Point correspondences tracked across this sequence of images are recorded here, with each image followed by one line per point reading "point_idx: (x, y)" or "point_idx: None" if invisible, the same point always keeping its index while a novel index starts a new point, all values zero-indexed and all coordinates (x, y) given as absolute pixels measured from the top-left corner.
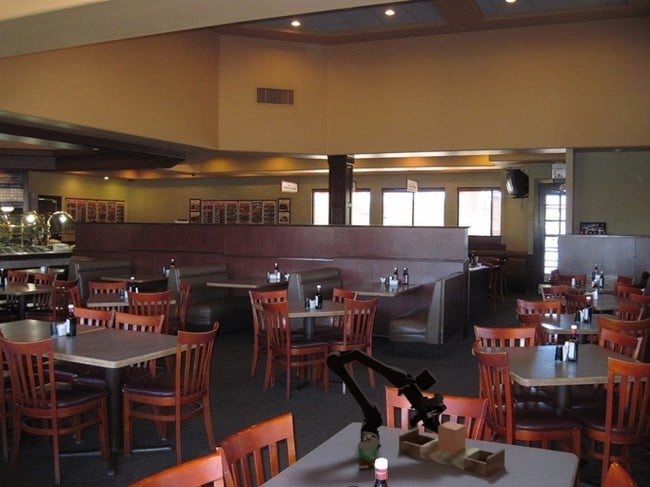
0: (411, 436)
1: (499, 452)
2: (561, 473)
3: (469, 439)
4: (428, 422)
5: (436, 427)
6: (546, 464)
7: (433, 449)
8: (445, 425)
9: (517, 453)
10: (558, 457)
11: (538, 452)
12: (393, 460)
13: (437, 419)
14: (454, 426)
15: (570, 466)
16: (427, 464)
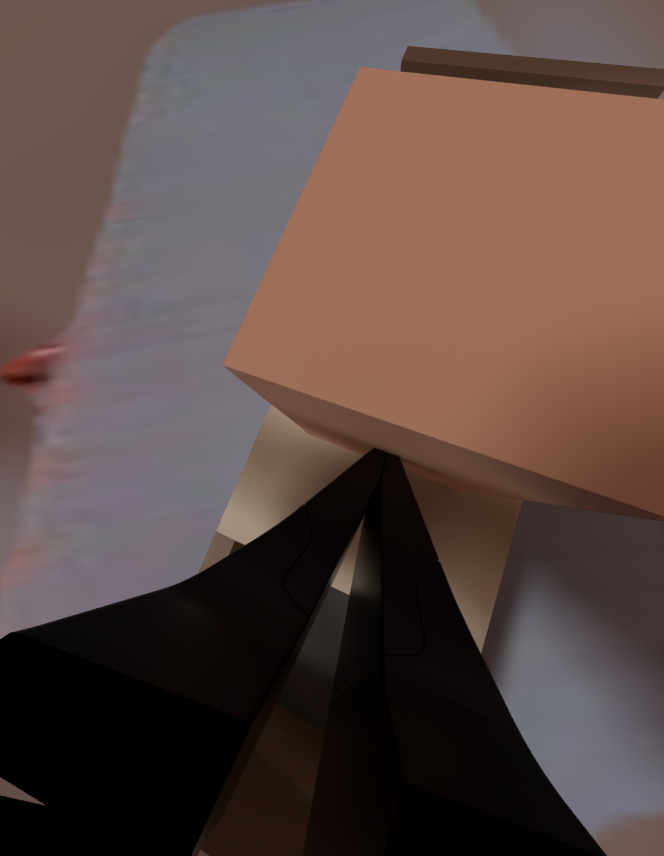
0: (240, 789)
1: (487, 54)
2: (378, 10)
3: (64, 374)
4: (386, 850)
5: (432, 565)
6: (300, 63)
7: (504, 522)
8: (541, 359)
9: (206, 165)
10: (210, 48)
11: (173, 107)
12: (599, 813)
13: (264, 626)
14: (512, 191)
15: (292, 4)
16: (549, 536)
